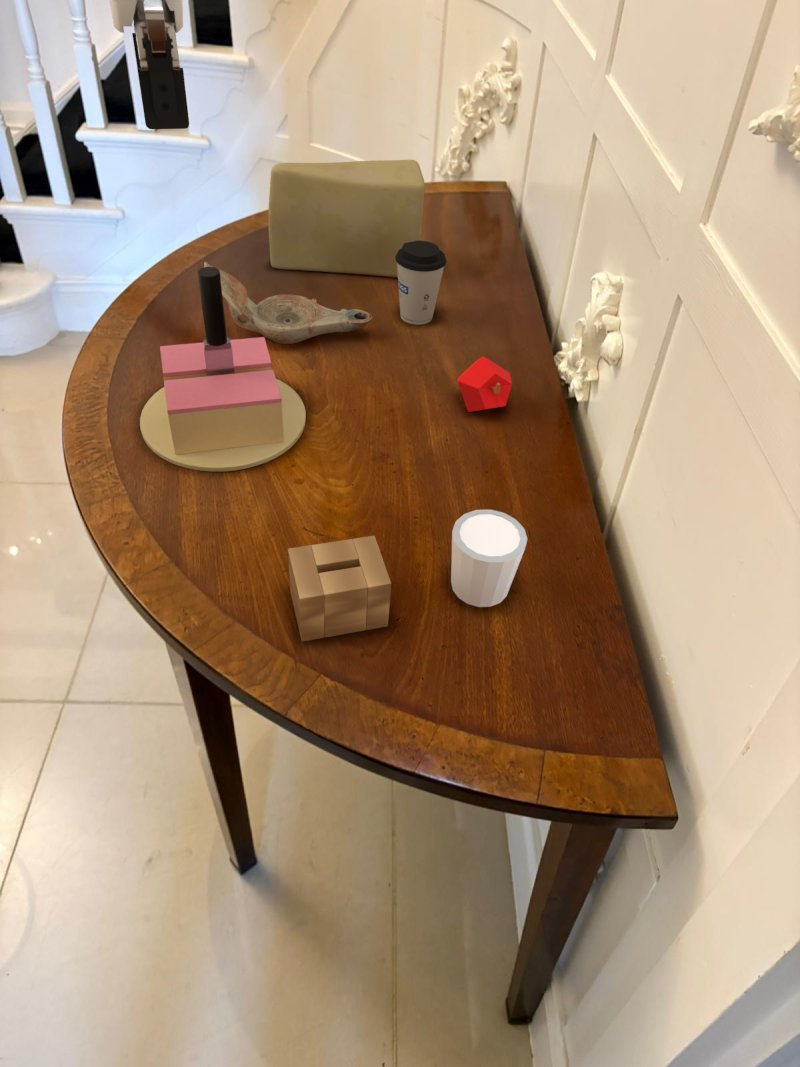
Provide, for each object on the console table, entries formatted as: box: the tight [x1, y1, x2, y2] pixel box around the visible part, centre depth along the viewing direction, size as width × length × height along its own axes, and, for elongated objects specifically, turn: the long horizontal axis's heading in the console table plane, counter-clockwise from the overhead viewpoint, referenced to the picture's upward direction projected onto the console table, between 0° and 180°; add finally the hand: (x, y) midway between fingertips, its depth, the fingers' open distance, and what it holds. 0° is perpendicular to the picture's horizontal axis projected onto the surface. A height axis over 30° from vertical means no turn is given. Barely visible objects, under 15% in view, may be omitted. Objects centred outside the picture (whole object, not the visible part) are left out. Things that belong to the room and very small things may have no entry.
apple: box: [456, 356, 513, 413], centre depth 95 cm, size 7×7×8 cm
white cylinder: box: [450, 509, 528, 608], centre depth 74 cm, size 7×7×7 cm
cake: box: [139, 336, 307, 473], centre depth 90 cm, size 19×19×7 cm
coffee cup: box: [395, 240, 447, 326], centre depth 108 cm, size 7×7×10 cm
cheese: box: [267, 159, 426, 279], centre depth 115 cm, size 22×10×15 cm, turn 96°
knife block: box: [287, 535, 392, 643], centre depth 71 cm, size 8×6×6 cm
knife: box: [197, 266, 235, 376], centre depth 86 cm, size 3×2×18 cm
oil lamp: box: [203, 261, 373, 345], centre depth 103 cm, size 9×21×10 cm, turn 94°
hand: (163, 107), depth 63 cm, fingers open, 9 cm apart
